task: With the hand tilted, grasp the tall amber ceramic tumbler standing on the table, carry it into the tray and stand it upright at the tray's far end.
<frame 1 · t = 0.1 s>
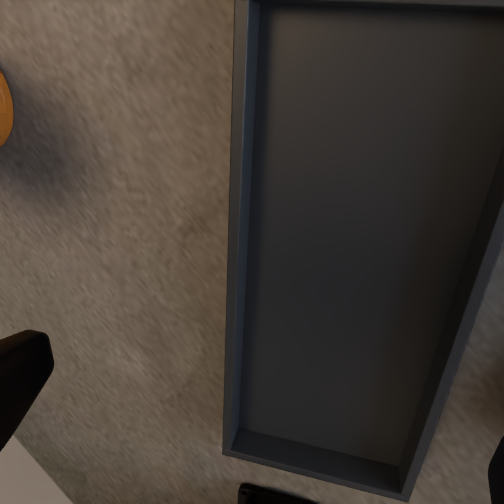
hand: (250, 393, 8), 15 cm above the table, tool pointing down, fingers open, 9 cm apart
tray: (344, 279, 23), on the table
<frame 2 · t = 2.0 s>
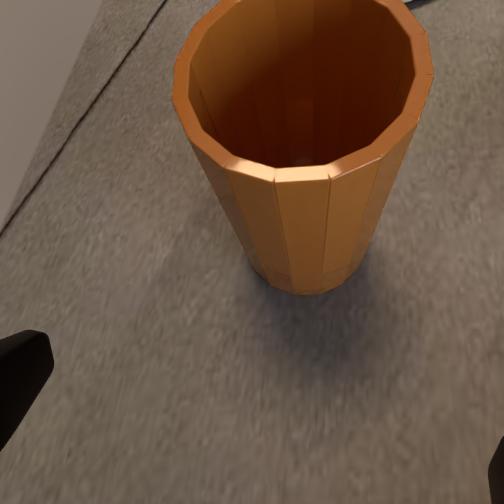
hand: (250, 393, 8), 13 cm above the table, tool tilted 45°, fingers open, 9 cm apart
tumbler: (304, 236, 23), on the table
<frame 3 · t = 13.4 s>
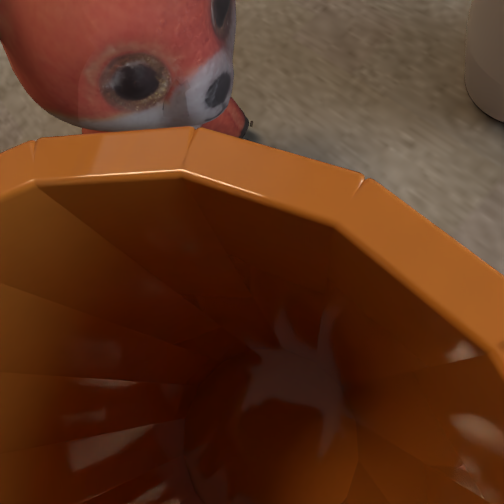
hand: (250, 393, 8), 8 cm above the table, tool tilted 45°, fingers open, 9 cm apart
stuffed fox: (168, 146, 20), on the table
tumbler: (270, 436, 14), point 1 cm above the table, touching tray
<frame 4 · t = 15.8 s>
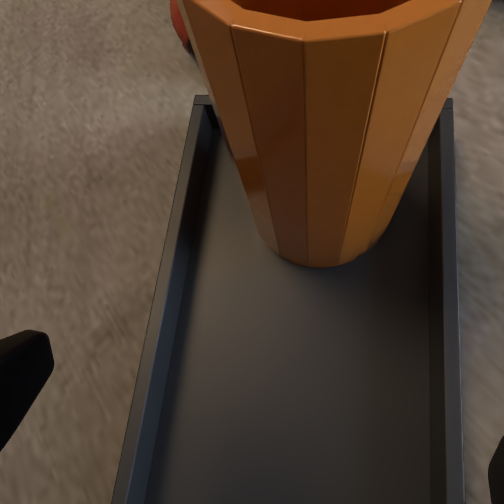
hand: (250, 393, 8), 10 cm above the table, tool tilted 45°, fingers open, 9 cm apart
tray: (291, 394, 18), on the table
stuffed fox: (228, 27, 25), on the table
tumbler: (319, 202, 20), point 1 cm above the table, touching tray
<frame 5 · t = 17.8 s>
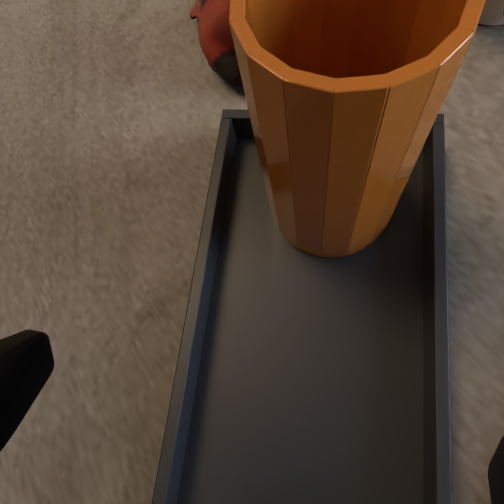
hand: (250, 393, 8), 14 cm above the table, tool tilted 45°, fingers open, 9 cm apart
tray: (307, 364, 21), on the table
stuffed fox: (248, 47, 29), on the table
tumbler: (329, 201, 23), point 1 cm above the table, touching tray
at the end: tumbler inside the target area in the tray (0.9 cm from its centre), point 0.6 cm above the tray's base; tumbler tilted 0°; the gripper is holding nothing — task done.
